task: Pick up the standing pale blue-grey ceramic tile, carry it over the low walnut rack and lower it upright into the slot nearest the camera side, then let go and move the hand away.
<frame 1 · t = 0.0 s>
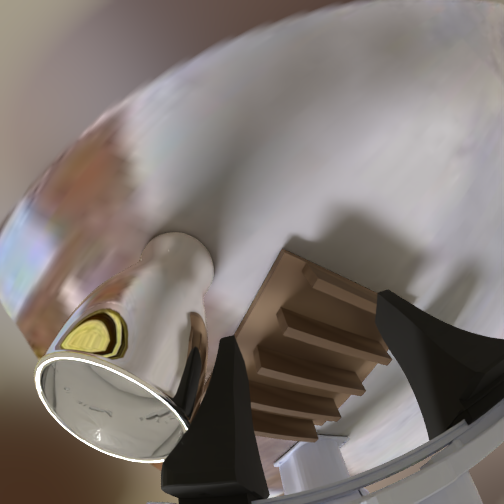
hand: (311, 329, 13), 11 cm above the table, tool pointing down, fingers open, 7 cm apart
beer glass: (176, 267, 22), on the table, touching gripper
rack: (307, 357, 27), on the table
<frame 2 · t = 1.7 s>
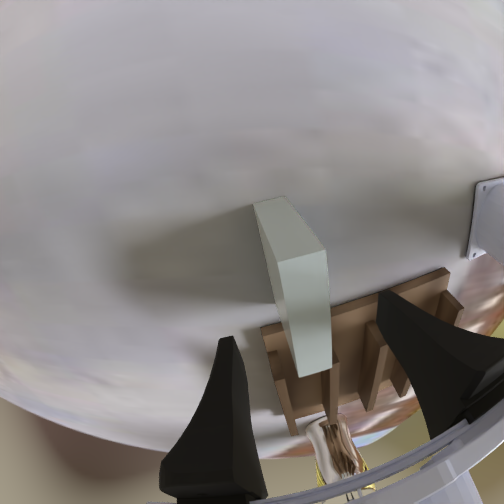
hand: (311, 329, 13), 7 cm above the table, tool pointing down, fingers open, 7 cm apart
tile: (279, 255, 19), on the table
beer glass: (325, 423, 33), on the table
rack: (361, 354, 26), on the table
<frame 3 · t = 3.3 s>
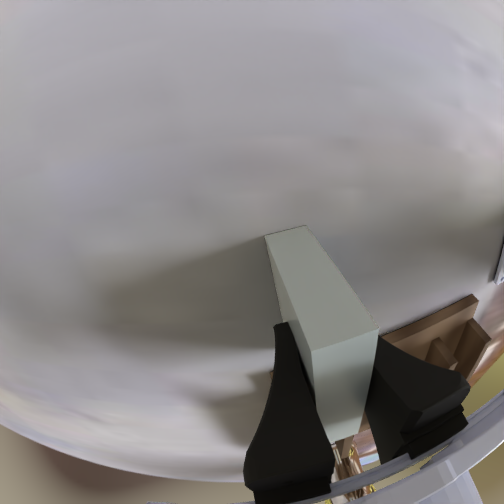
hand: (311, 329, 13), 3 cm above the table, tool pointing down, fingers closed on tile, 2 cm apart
tile: (296, 296, 15), on the table, touching gripper
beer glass: (333, 448, 30), on the table
rack: (377, 388, 22), on the table
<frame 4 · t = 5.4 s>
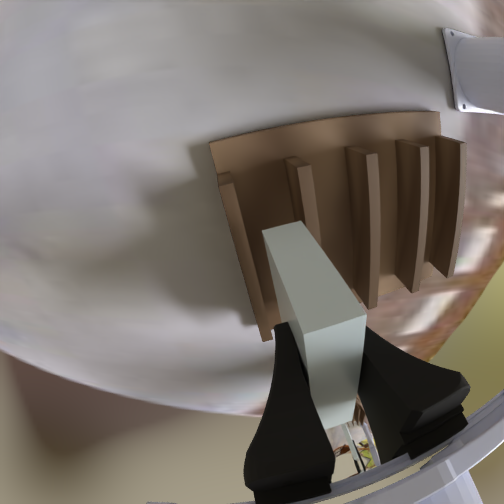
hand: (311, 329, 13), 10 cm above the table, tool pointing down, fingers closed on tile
tile: (292, 288, 16), point 6 cm above the table, touching gripper
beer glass: (316, 354, 29), on the table
rack: (350, 219, 21), on the table
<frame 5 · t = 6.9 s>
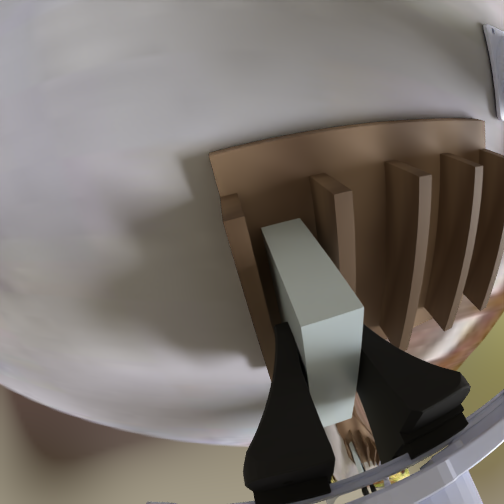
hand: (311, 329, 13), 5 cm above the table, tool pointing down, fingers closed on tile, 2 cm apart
tile: (291, 286, 16), point 1 cm above the table, touching gripper, rack
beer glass: (330, 389, 24), on the table
rack: (382, 248, 17), on the table
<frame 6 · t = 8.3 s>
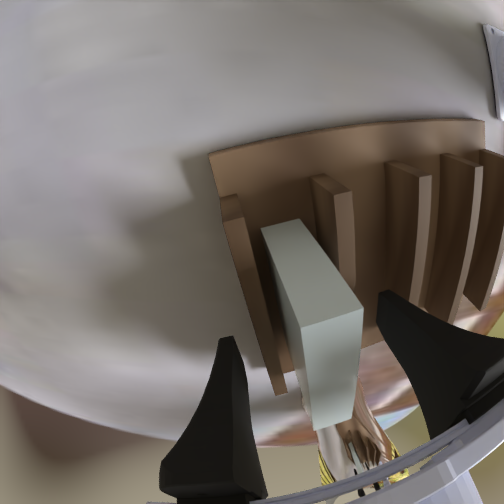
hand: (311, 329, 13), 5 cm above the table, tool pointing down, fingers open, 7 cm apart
tile: (291, 286, 16), point 1 cm above the table, touching rack
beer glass: (330, 390, 24), on the table
rack: (382, 249, 17), on the table
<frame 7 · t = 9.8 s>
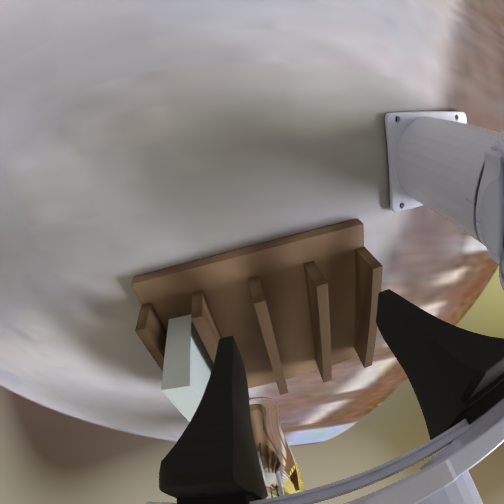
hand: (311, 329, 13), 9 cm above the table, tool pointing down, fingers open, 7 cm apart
tile: (196, 348, 24), point 1 cm above the table, touching rack
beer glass: (255, 408, 32), on the table
rack: (265, 324, 25), on the table
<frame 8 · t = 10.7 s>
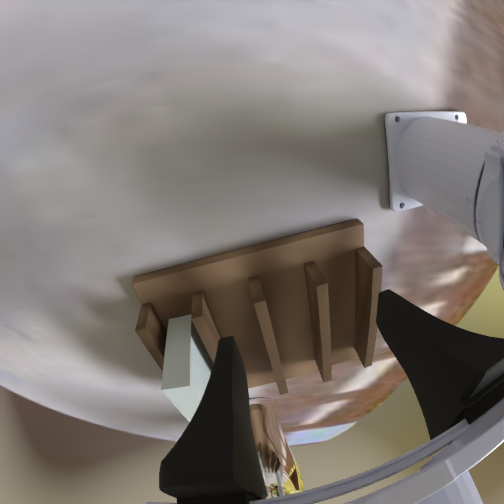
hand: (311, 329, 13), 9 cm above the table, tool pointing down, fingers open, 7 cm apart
tile: (196, 348, 24), point 1 cm above the table, touching rack
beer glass: (255, 408, 32), on the table
rack: (265, 324, 25), on the table
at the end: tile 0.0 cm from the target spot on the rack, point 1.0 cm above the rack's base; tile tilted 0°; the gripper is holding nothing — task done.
